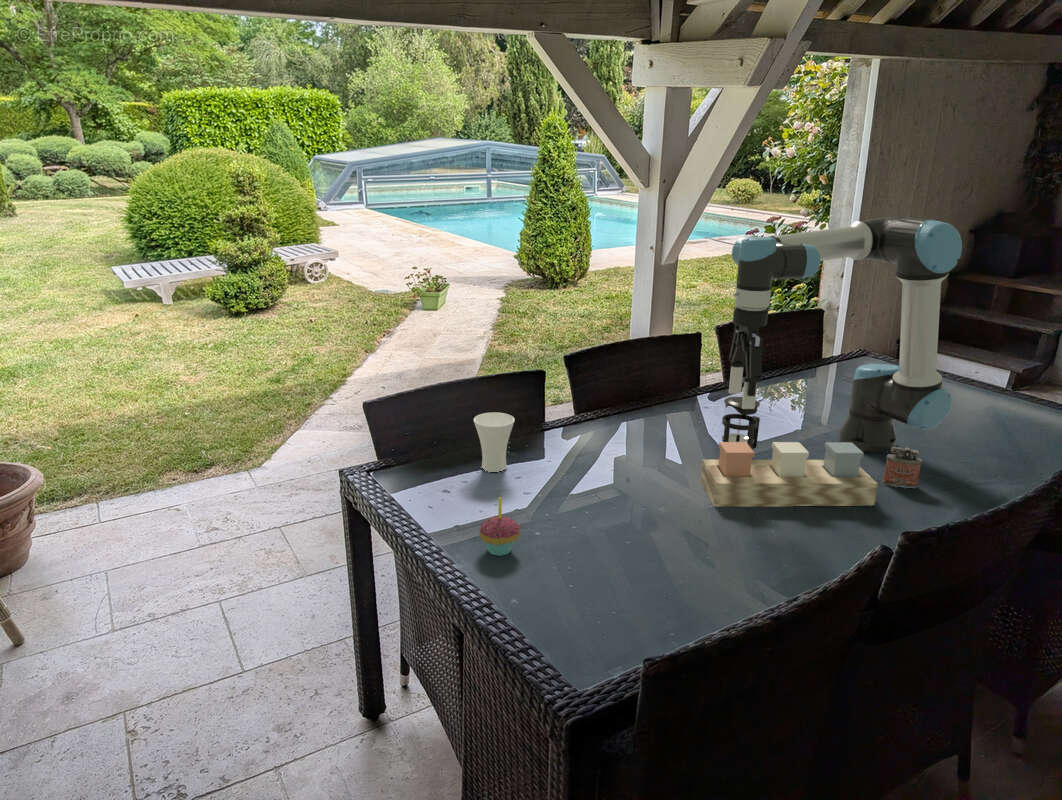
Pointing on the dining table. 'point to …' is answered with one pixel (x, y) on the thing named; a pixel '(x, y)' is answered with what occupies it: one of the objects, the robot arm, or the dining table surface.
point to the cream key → (789, 459)
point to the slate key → (842, 459)
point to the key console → (786, 487)
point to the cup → (494, 439)
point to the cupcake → (499, 533)
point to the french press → (753, 421)
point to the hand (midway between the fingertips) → (741, 400)
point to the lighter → (902, 467)
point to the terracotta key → (735, 459)
